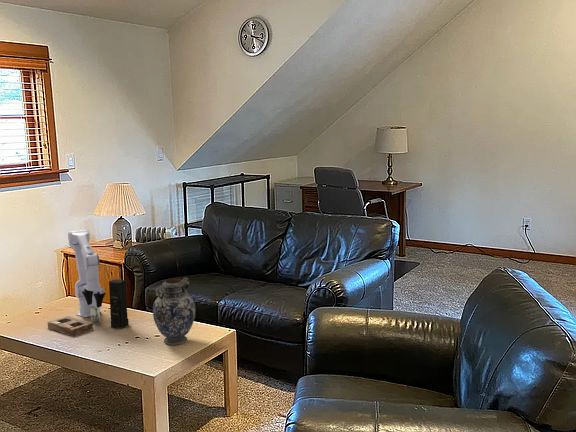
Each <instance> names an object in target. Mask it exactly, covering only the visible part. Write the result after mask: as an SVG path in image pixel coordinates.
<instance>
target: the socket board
mask: <svg viewBox="0 0 576 432" xmlns="http://www.w3.org/2000/svg"><path fill="white" fill-rule="evenodd" d="M47 329H50V330H53V331H56V332H59V333H62V334H65V335H69V336H72V337H74V336H77V335H80V334H82V333H83V334H84V333H87V332H88V331H92V330H93V329H94V324H93V323H91V321H86V320H84V319H79V318H76V317H73V316H71V315H70V316H69V315H67V316H63V317H61V318H56V319H53V320H50V321H47Z"/></svg>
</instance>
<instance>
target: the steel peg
mask: <svg viewBox="0 0 576 432" xmlns="http://www.w3.org/2000/svg"><path fill="white" fill-rule="evenodd" d="M90 311H91V316H90V323H93V325H98V324H100V322H101V319H100V313H99V308H98V307H97V306H92V307H90Z"/></svg>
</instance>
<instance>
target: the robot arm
mask: <svg viewBox="0 0 576 432" xmlns="http://www.w3.org/2000/svg"><path fill="white" fill-rule="evenodd" d="M90 236H91V235H90V231H89V230H88V229H87V228H86V229H80V230H70V231H69V230H68V232H67V239H68V246H69V248H70V249H73V252H74V257H75V262H76V268H77V273H78V279H79V280H77V281H76V282H75V284H74V295H75V297H76V298H77V299H78V305H79V312H78V313H76V316H79V317H83V318H87V317H91V311H90V307H92V306H97V307H98V308H99V314H101V313H102V312H101V307H102V305H103V302H104V301H103V300H104V299H105V298H104V297H105V296H106V292H105V289H104V288H102V285H100V274H99V265H100V255H99V254H98V253H96V252H95V251H94V248H93V246H91V245H90Z"/></svg>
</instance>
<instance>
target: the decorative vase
mask: <svg viewBox="0 0 576 432" xmlns="http://www.w3.org/2000/svg"><path fill="white" fill-rule="evenodd" d="M189 286H190V280H189V278H188V277H187V276H186V277H183V278H182V279H181V278H168V279H165V280H164V282H162V284H161V285H159V286H158V287H156V289H155V296H156V297H157V298H156V299H155V301H153V304H152V316H153V320H154V324H155V326H156V328H157V330H158V331H159V333H160V334H161V335H162V336H164V337H165V338H164V339H163V344H164V343H165V344H164V345H166V344H167V345H166V346H180V345H179V344H181V345H183V344H182V343H184V344H186V343H187V342H188V340H187V339H188V337H187V336H186V335H187V334H188V333H189V332H190V330H191V329H192V327H193V325H194V321H195V317H196V304H195V301H194V299H193V297H192V296H191V295H190V294H189V292H188V291H187V289H188V288H189ZM186 341H187V342H186ZM185 342H186V343H185Z"/></svg>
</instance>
